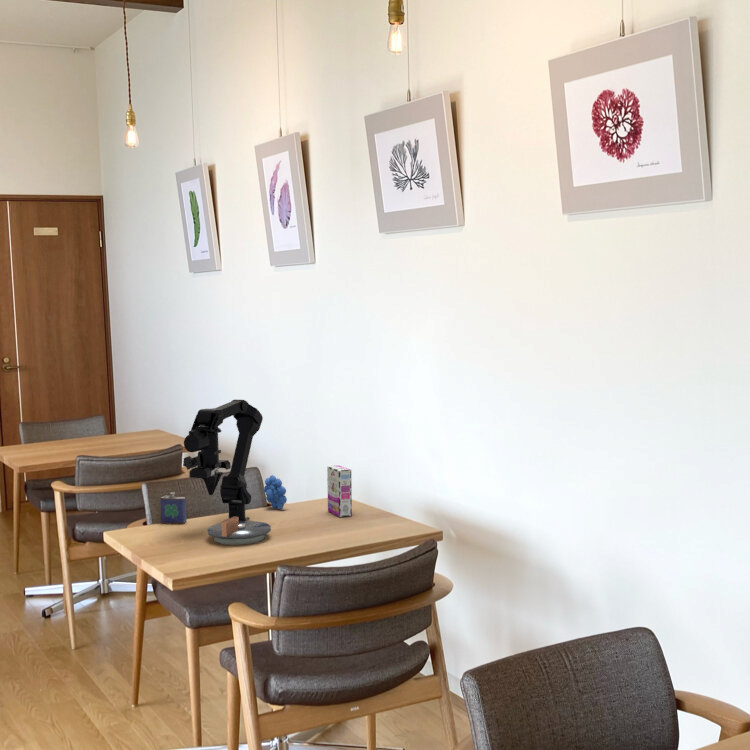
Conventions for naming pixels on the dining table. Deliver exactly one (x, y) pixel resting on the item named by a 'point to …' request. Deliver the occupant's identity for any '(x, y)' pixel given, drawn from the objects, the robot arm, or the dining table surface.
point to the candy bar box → (339, 491)
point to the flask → (173, 509)
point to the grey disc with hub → (238, 529)
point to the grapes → (275, 492)
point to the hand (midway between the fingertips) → (211, 494)
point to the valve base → (239, 540)
